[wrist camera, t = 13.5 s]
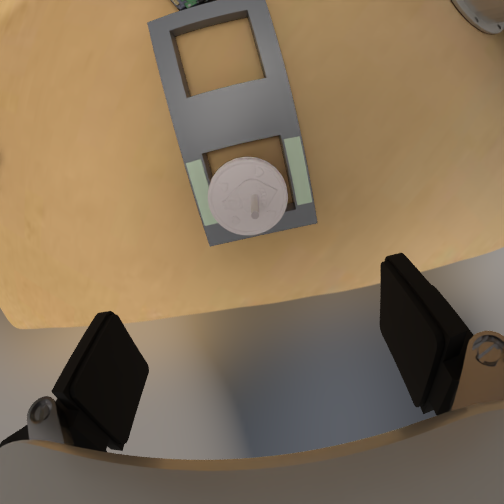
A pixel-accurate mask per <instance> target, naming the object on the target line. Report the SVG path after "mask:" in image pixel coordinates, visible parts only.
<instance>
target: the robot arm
mask: <svg viewBox="0 0 504 504" xmlns="http://www.w3.org/2000/svg"><path fill="white" fill-rule="evenodd" d="M452 2H453V3H454V5H455V6H456V7H457V9H458V10H459V11H460V12H461V14H462V15H463V16H464V17H465V18H466V19H467V20H468V21H469V22H470V23H471V24H472V25H474V26H475V27H476V28H478V29H479V30H481V31H483V32H485V33H489V34H497V33H500V32H502V31H503V30H504V0H452ZM380 302H381V303H380V330H381V333H382V335H383V337H384V339H385V341H386V343H387V345H388V347H389V350H390V352H391V354H392V356H393V358H394V360H395V362H396V364H397V367H398V369H399V371H400V373H401V376H402V378H403V380H404V382H405V384H406V387H407V389H408V391H409V393H410V396H411V398H412V401H413V403H414V405H415V406H416V407H419V406H420V407H421V409H422V412H423V414H425V413H427V412H430V411H432V410H434V411H435V413H436V415H438V416H435V417H432V418H429V419H426V420H423V421H420V422H417V423H414V424H411V425H409V426H406V427H403V428H399V429H396V430H394V431H390V432H387V433H384V434H380V435H376V436H373V437H369V438H365V439H361V440H357V441H353V442H349V443H345V444H341V445H336V446H331V447H326V448H321V449H316V450H311V451H305V452H298V453H292V454H284V455H276V456H267V457H257V458H244V459H227V460H226V459H224V460H181V459H162V458H149V457H137V456H129V455H122V454H114V453H108V452H107V451H106V448H107V446H108V447H109V448H110V449H114V450H121V451H122V450H123V447H124V444H125V443H126V442H127V441H128V438H129V435H130V431H131V428H132V424H133V421H134V417H135V414H136V411H137V408H138V404H139V401H140V398H141V394H142V391H143V389H144V385H145V382H146V379H147V376H148V373H149V367H148V364H147V362H146V361H145V360H144V358H143V356H142V355H141V353H140V352H139V350H138V348H137V347H136V345H135V344H134V342H133V340H132V338H131V337H130V335H129V334H128V332H127V330H126V328H125V327H124V325H123V323H122V321H121V320H120V318H119V316H118V315H116V314H114V313H113V312H112V311H108V312H101V313H98V314H97V315H96V316H95V318H94V319H93V321H92V322H91V324H90V326H89V327H88V329H87V330H86V332H85V334H84V335H83V337H82V339H81V340H80V342H79V343H78V345H77V347H76V349H75V350H74V352H73V354H72V355H71V357H70V359H69V361H68V363H67V364H66V366H65V368H64V369H63V371H62V373H61V375H60V377H59V379H58V380H57V382H56V384H55V386H54V388H53V390H52V393H53V394H54V395H55V396H56V397H57V400H56V401H55V400H54V399H52V398H51V397H48V396H45V397H42V398H39V399H38V400H36V401H35V402H34V403H33V404H32V406H31V407H30V409H29V411H28V414H27V424H28V425H26V426H25V427H23V428H22V429H20V430H19V431H17V432H15V433H14V434H12V435H11V436H9V437H8V438H6V439H5V440H3V441H2V442H1V444H0V504H504V336H502V335H501V334H499V333H496V332H493V331H483V332H479V333H477V334H475V335H473V334H472V332H470V330H469V329H468V327H467V326H466V325H465V323H464V322H463V321H462V319H461V318H460V317H459V316H458V314H457V313H456V312H455V310H454V309H453V308H452V307H451V305H450V304H449V303H448V302H447V301H446V299H445V298H444V297H443V296H442V295H441V294H440V292H439V291H438V290H437V289H436V288H435V287H434V286H433V285H431V284H430V283H429V282H428V281H427V280H426V279H425V277H424V276H423V275H422V274H421V273H420V271H419V270H418V269H417V268H416V267H415V266H414V265H413V264H412V263H411V261H410V260H409V259H408V258H407V257H406V256H405V255H404V254H403V253H398V254H394V255H390V256H387V257H386V258H385V261H384V262H382V263H381V300H380Z"/></svg>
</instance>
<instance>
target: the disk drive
mask: <svg viewBox="0 0 504 504" xmlns="http://www.w3.org/2000/svg"><path fill="white" fill-rule="evenodd" d="M171 1H172V2H173V3H174V5H175V6H176V7H177V8H178V9H179V10H180V11H181V10H185V9H188V8H191V7H194V6H198V5H201V4H205V3H209V2H213V1H216V0H171Z"/></svg>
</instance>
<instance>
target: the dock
mask: <svg viewBox="0 0 504 504" xmlns="http://www.w3.org/2000/svg"><path fill="white" fill-rule="evenodd" d="M246 17H248V20H249V23H250V27H251V30H252V34H253V37H254V41H255V44H256V48H257V51H258V55H259V59H260V62H261V66H262V70H263V74H264V77H265V78H263V79H258V80H253V81H249V82H244V83H240V84H236V85H231V86H227V87H224V88H220V89H216V90H212V91H209V92H205V93H202V94H198V95H195V96H192V97H191V96H190V92H189V88H188V85H187V81H186V77H185V73H184V69H183V65H182V62H181V58H180V54H179V50H178V46H177V42H176V38H175V36H178V35H181V34H184V33H187V32H191V31H194V30H197V29H201V28H204V27H208V26H212V25H215V24H219V23H223V22H228V21H232V20H237V19H241V18H246ZM148 28H149V32H150V36H151V41H152V45H153V49H154V53H155V57H156V61H157V65H158V69H159V73H160V77H161V81H162V85H163V89H164V93H165V96H166V100H167V104H168V108H169V111H170V115H171V119H172V122H173V126H174V130H175V133H176V137H177V140H178V144H179V147H180V151H181V154H182V158H183V161H184V164H185V168H186V171H187V175H188V178H189V181H190V185H191V188H192V191H193V194H194V198H195V201H196V204H197V207H198V211H199V214H200V217H201V220H202V223H203V227H204V230H205V233H206V236H207V239H208V242H209V245H210V246H214V245H219V244H223V243H228V242H232V241H237V240H241V239H246V238H250V237H255V236H259V235H264V234H269V233H273V232H278V231H283V230H287V229H292V228H297V227H301V226H306V225H311V224H316V223H317V217H316V211H315V205H314V199H313V193H312V188H311V182H310V177H309V172H308V166H307V161H306V156H305V151H304V146H303V141H302V137H301V132H300V128H299V123H298V119H297V114H296V110H295V105H294V101H293V97H292V93H291V89H290V85H289V81H288V77H287V73H286V69H285V65H284V62H283V58H282V54H281V51H280V47H279V44H278V40H277V37H276V33H275V30H274V27H273V23H272V20H271V17H270V13H269V10H268V7H267V4H266V1H265V0H217V1H213V2H209V3H205V4H201V5H198V6H194V7H191V8H188V9H185V10H181V11H178V12H175V13H172V14H169V15H167V16H164V17H161V18H158V19H156V20H153V21H150V22H148ZM277 135H279V139H280V143H281V148H282V152H283V157H284V161H285V166H286V171H287V175H288V180H289V185H290V190H291V195H292V200H293V203H290V204H287V207H286V210H285V212H284V214H283V216H282V218H281V219H280V221H279V222H278V223H277V224H276V225H275V226H273V227H272V228H271V229H269V230H267V231H265V232H263V233H260V234H256V235H239V234H235V233H233V232H230V231H228V230H226V229H225V228H223V227H222V226H221V225H220V224H219V223H218V222H217V221H216V220H215V218H214V217H213V215H212V213H211V211H210V208H209V205H208V190H209V185H210V182H211V179H212V177H213V176H212V173H211V169H210V166H209V162H208V158H207V155H206V152H210V151H213V150H217V149H221V148H225V147H229V146H233V145H237V144H241V143H245V142H250V141H254V140H258V139H263V138H268V137H272V136H277Z"/></svg>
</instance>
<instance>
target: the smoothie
mask: <svg viewBox="0 0 504 504" xmlns="http://www.w3.org/2000/svg"><path fill="white" fill-rule="evenodd" d="M287 202H288V193H287V188H286V183H285V181H284V179H283V177H282V175H281V174H280V172H279V171H278V170H277V169H276V167H274V166H273V165H271V164H270V163H269V162H267V161H265V160H262V159H259V158H256V157H241V158H235V159H233V160H231V161H229V162H227V163H225V164H224V165H223V166H221V167H220V168H219V169H218V170H217V171H216V173H215V174H214V176H213V177H212V179H211V182H210V185H209V190H208V205H209V208H210V211H211V213H212V215H213V217H214V218H215V220H216V221H217V222H218V223H219V224H220V225H221V226H222V227H223V228H225V229H226V230H228V231H230V232H233V233H235V234H239V235H256V234H260V233H263V232H265V231H267V230H269V229H271V228H272V227H273V226H275V225H276V224H277V223H278V222H279V221H280V219H281V218H282V216H283V214H284V212H285V210H286V207H287Z"/></svg>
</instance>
